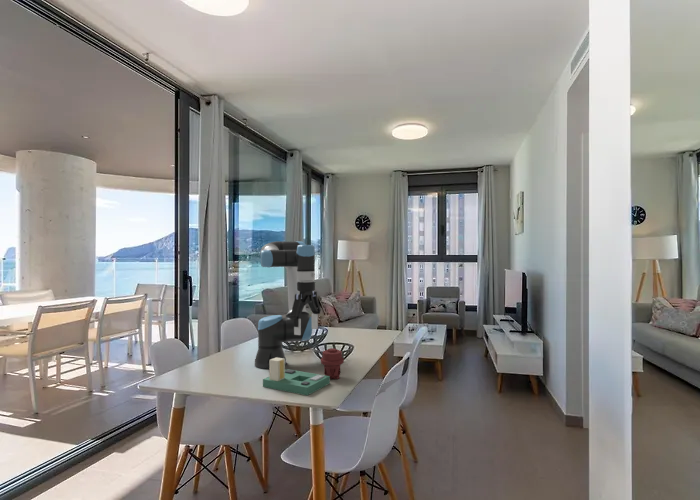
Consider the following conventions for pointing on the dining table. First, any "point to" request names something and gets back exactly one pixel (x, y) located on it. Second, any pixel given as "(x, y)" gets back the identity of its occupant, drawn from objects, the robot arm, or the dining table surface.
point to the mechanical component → (332, 362)
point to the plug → (276, 369)
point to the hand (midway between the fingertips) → (306, 331)
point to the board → (298, 382)
